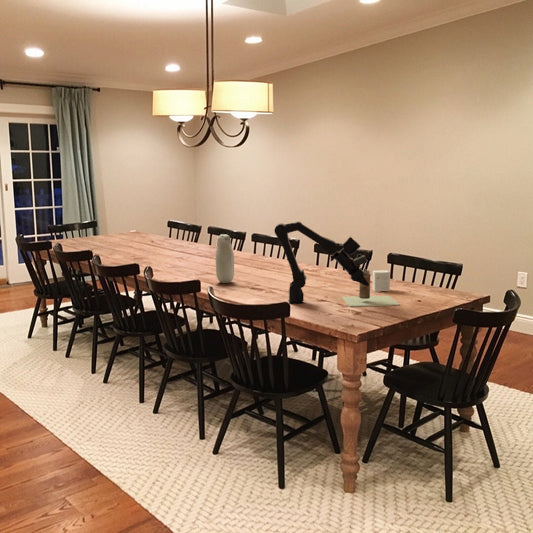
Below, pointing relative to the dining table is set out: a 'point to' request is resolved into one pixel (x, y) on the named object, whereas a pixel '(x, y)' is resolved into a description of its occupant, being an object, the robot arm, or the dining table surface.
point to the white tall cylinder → (224, 259)
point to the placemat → (370, 301)
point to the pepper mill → (365, 290)
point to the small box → (381, 280)
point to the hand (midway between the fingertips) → (367, 284)
